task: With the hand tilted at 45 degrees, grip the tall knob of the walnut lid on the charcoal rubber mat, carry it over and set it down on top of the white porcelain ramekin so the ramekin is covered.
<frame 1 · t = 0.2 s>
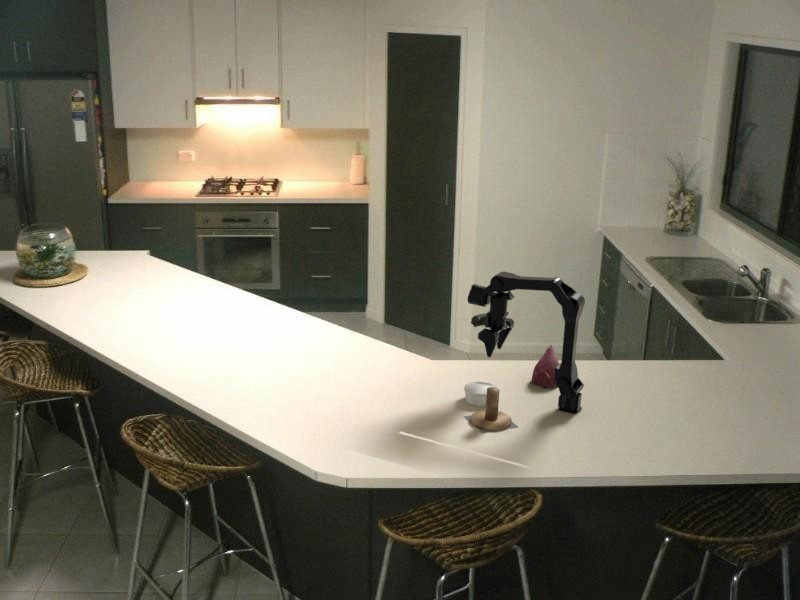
hand: (494, 352, 341), 15 cm above the worktop, tool pointing down, fingers open, 9 cm apart
vegetable: (546, 383, 356), on the worktop
walnut lid: (490, 421, 321), point 1 cm above the worktop, touching rubber mat
rubber mat: (490, 423, 322), on the worktop
ramekin: (480, 402, 338), on the worktop
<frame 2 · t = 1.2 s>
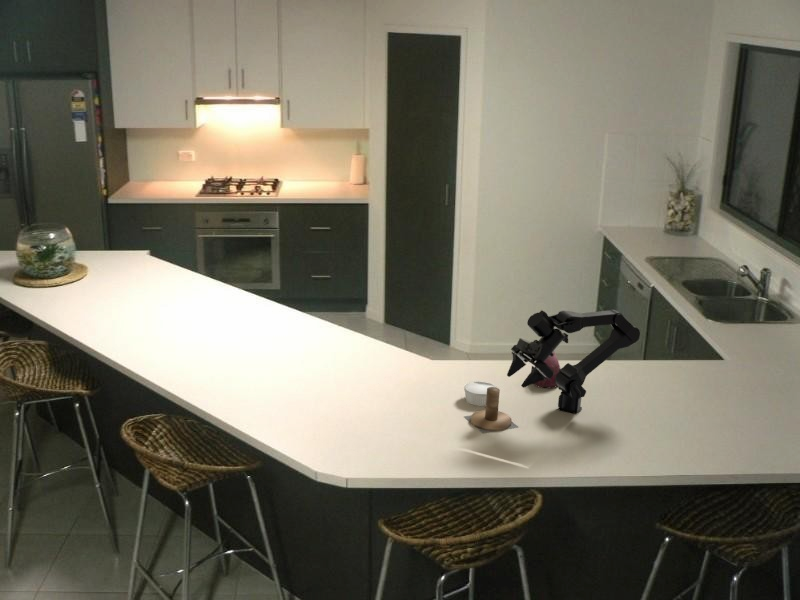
hand: (514, 381, 321), 13 cm above the worktop, tool tilted 45°, fingers open, 9 cm apart
nothing on the worktop moved.
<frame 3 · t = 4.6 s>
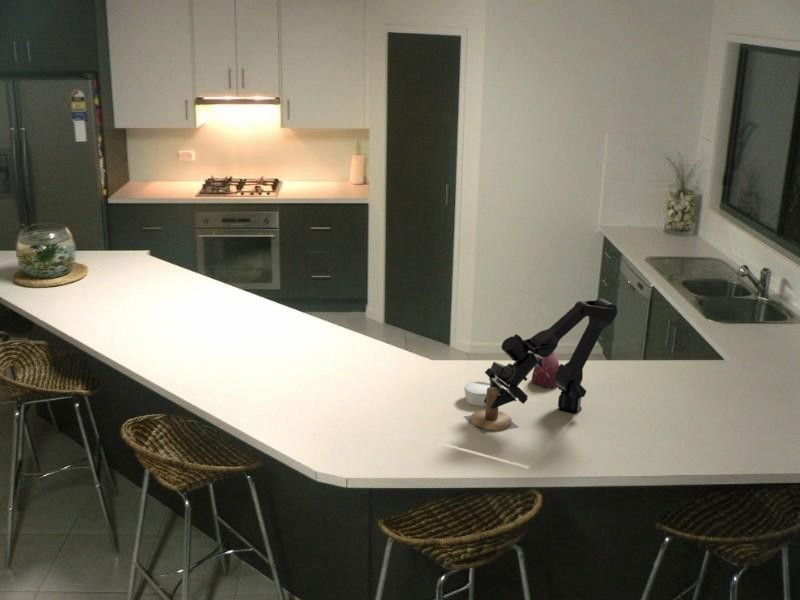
hand: (488, 405, 319), 7 cm above the worktop, tool tilted 45°, fingers closed on walnut lid, 4 cm apart
walnut lid: (490, 421, 321), point 1 cm above the worktop, touching gripper, rubber mat
everything else where it was.
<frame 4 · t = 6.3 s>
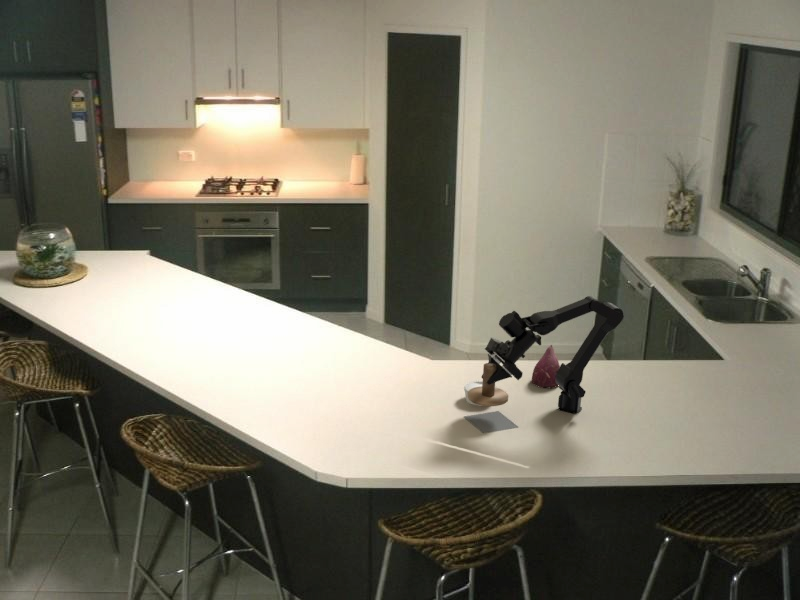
hand: (484, 380, 320), 13 cm above the worktop, tool tilted 45°, fingers closed on walnut lid, 4 cm apart
walnut lid: (487, 397, 322), point 7 cm above the worktop, touching gripper
everything else where it was.
when the fingers open (12 cm above the worktop, at t = 7.9 s): walnut lid stays where it is, resting on ramekin.
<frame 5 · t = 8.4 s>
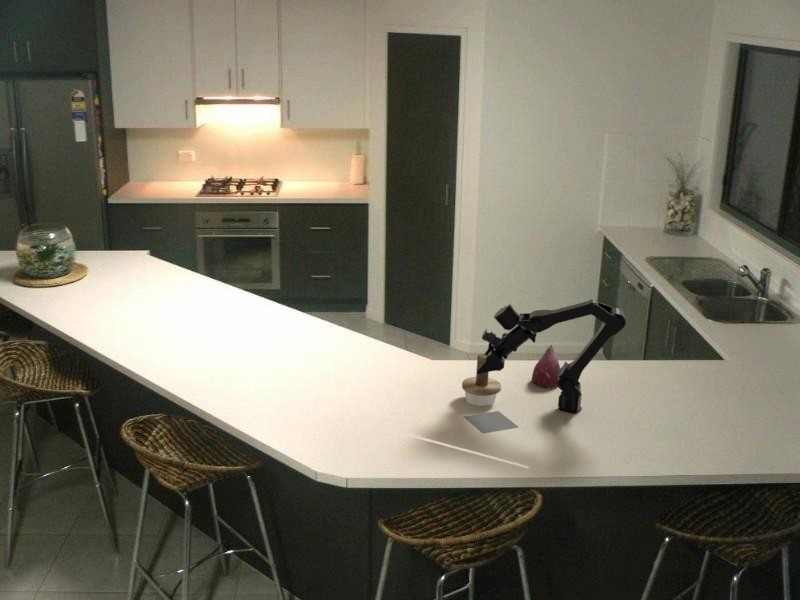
hand: (478, 367, 334), 12 cm above the worktop, tool tilted 45°, fingers open, 9 cm apart
walnut lid: (481, 387, 336), point 5 cm above the worktop, touching ramekin
ramekin: (480, 402, 338), on the worktop, touching walnut lid
everything else where it was.
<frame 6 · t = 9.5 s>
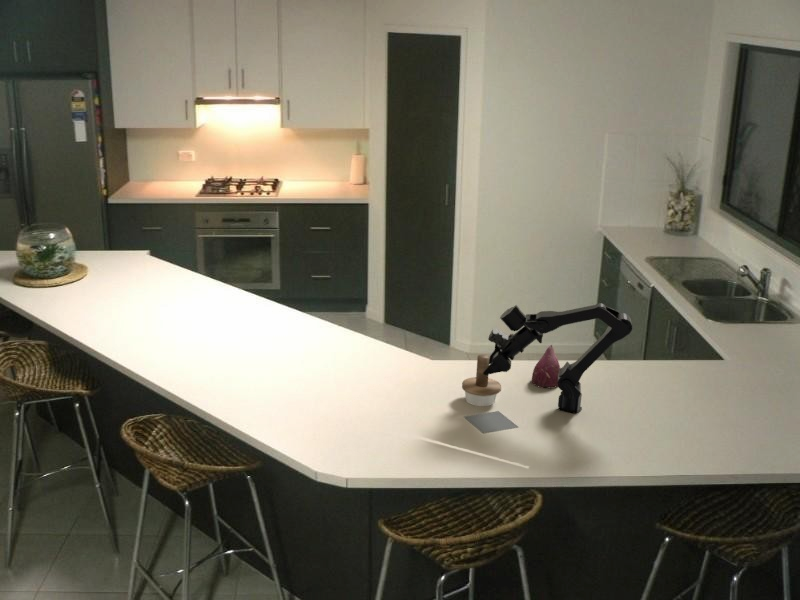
hand: (484, 368, 334), 12 cm above the worktop, tool tilted 45°, fingers open, 9 cm apart
nothing on the worktop moved.
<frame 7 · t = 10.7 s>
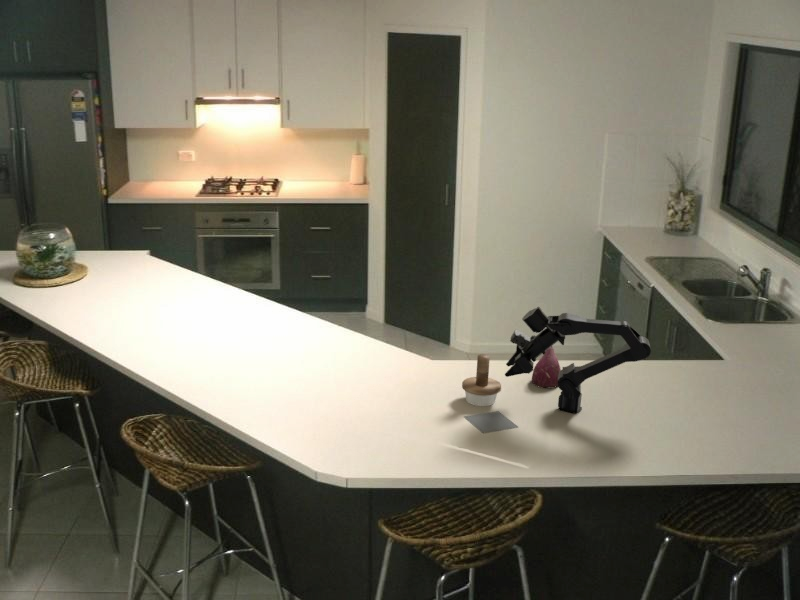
hand: (506, 370, 333), 12 cm above the worktop, tool tilted 45°, fingers open, 9 cm apart
nothing on the worktop moved.
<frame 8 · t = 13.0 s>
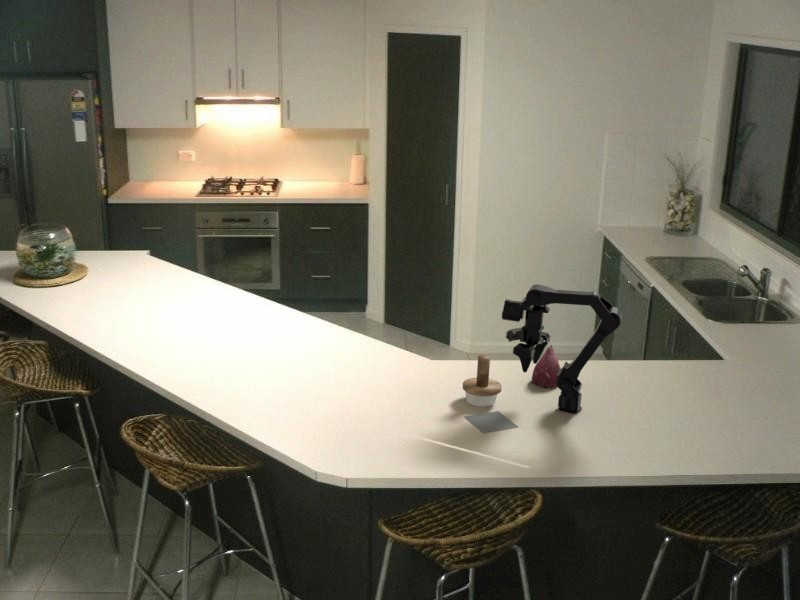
hand: (529, 367, 333), 13 cm above the worktop, tool pointing down, fingers open, 9 cm apart
nothing on the worktop moved.
at the end: walnut lid 0.1 cm off-centre on the ramekin, point 5.4 cm above the ramekin's base; walnut lid tilted 0°; the gripper is holding nothing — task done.
